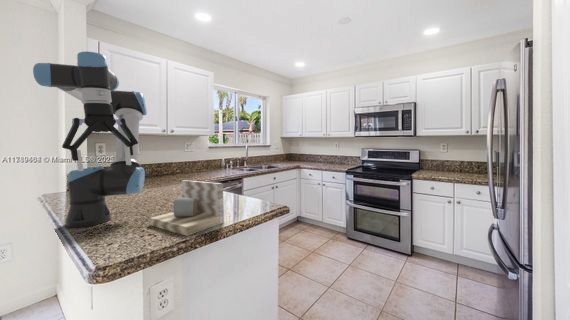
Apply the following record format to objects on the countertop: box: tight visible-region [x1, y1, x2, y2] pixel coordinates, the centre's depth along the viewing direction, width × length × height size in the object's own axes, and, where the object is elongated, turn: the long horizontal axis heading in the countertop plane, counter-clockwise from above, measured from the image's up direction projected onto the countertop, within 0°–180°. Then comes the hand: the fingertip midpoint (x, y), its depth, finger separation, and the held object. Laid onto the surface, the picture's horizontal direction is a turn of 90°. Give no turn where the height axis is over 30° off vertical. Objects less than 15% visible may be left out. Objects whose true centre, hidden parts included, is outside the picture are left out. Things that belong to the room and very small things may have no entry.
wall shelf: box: [148, 179, 225, 237], centre depth 97 cm, size 24×17×16 cm
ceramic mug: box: [172, 197, 198, 217], centre depth 99 cm, size 11×8×8 cm
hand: (106, 167), depth 82 cm, fingers open, 13 cm apart
